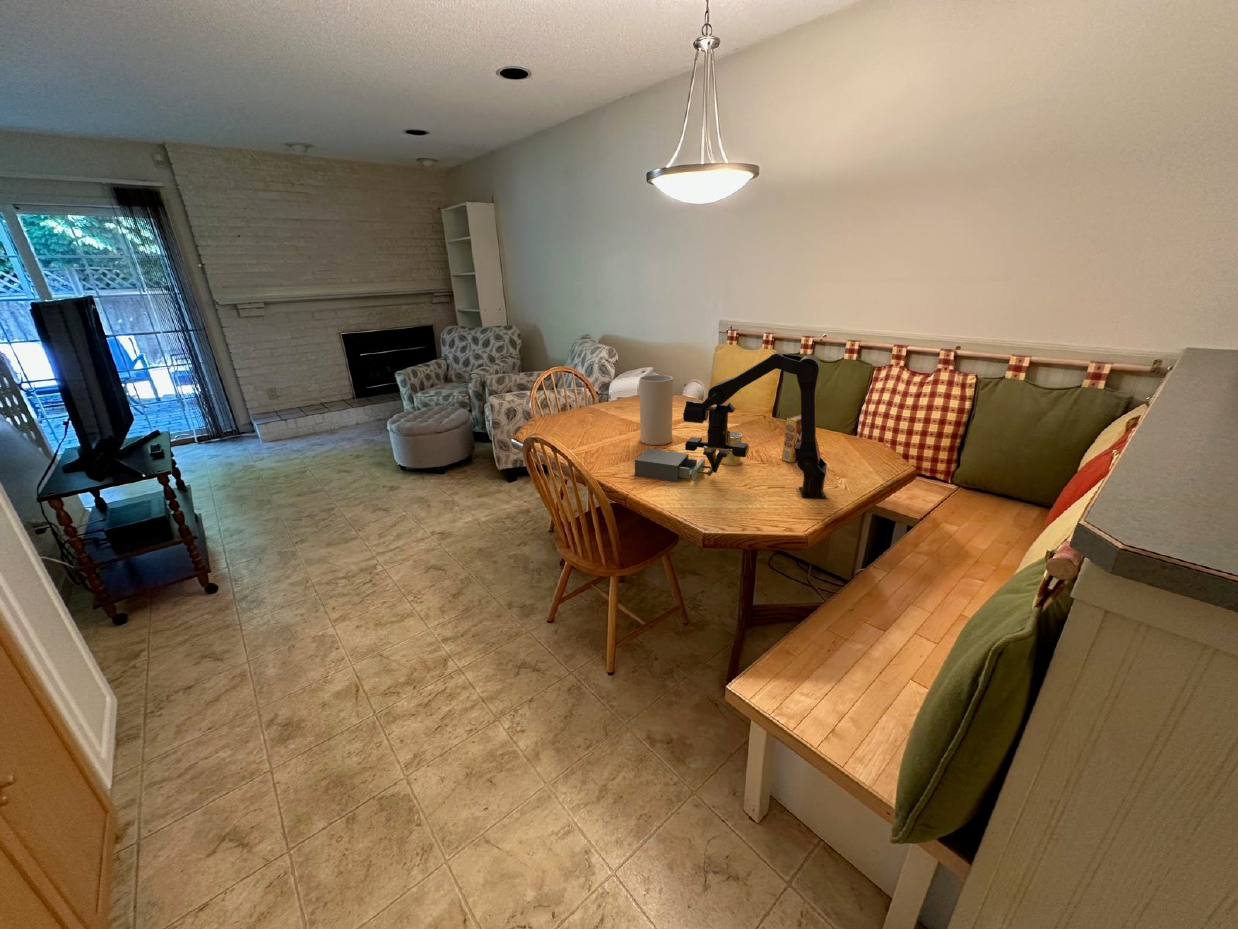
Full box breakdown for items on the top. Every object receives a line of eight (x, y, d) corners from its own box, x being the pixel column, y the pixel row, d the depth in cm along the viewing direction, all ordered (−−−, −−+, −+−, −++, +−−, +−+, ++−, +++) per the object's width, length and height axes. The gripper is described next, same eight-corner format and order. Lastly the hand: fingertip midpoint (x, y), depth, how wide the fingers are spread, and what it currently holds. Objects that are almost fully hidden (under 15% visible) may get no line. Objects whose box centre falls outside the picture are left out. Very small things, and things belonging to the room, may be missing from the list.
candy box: (791, 463, 163) (796, 420, 157) (781, 459, 166) (785, 417, 160) (808, 457, 167) (813, 415, 162) (797, 454, 171) (802, 413, 165)
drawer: (717, 471, 156) (717, 460, 154) (708, 483, 147) (709, 472, 146) (665, 464, 163) (665, 454, 161) (655, 475, 154) (655, 464, 153)
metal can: (734, 466, 161) (736, 438, 158) (717, 462, 165) (718, 435, 162) (744, 461, 166) (746, 433, 162) (727, 457, 170) (728, 430, 166)
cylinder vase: (677, 438, 191) (678, 376, 182) (662, 447, 181) (662, 382, 172) (650, 434, 197) (650, 373, 188) (634, 442, 188) (633, 379, 179)
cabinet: (688, 469, 161) (688, 453, 159) (677, 482, 151) (677, 465, 149) (647, 463, 166) (647, 448, 164) (634, 475, 157) (634, 459, 155)
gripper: (753, 420, 148) (750, 467, 154) (695, 415, 155) (693, 459, 161) (747, 431, 138) (743, 480, 144) (685, 424, 146) (683, 471, 152)
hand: (715, 472), depth 151 cm, fingers closed
